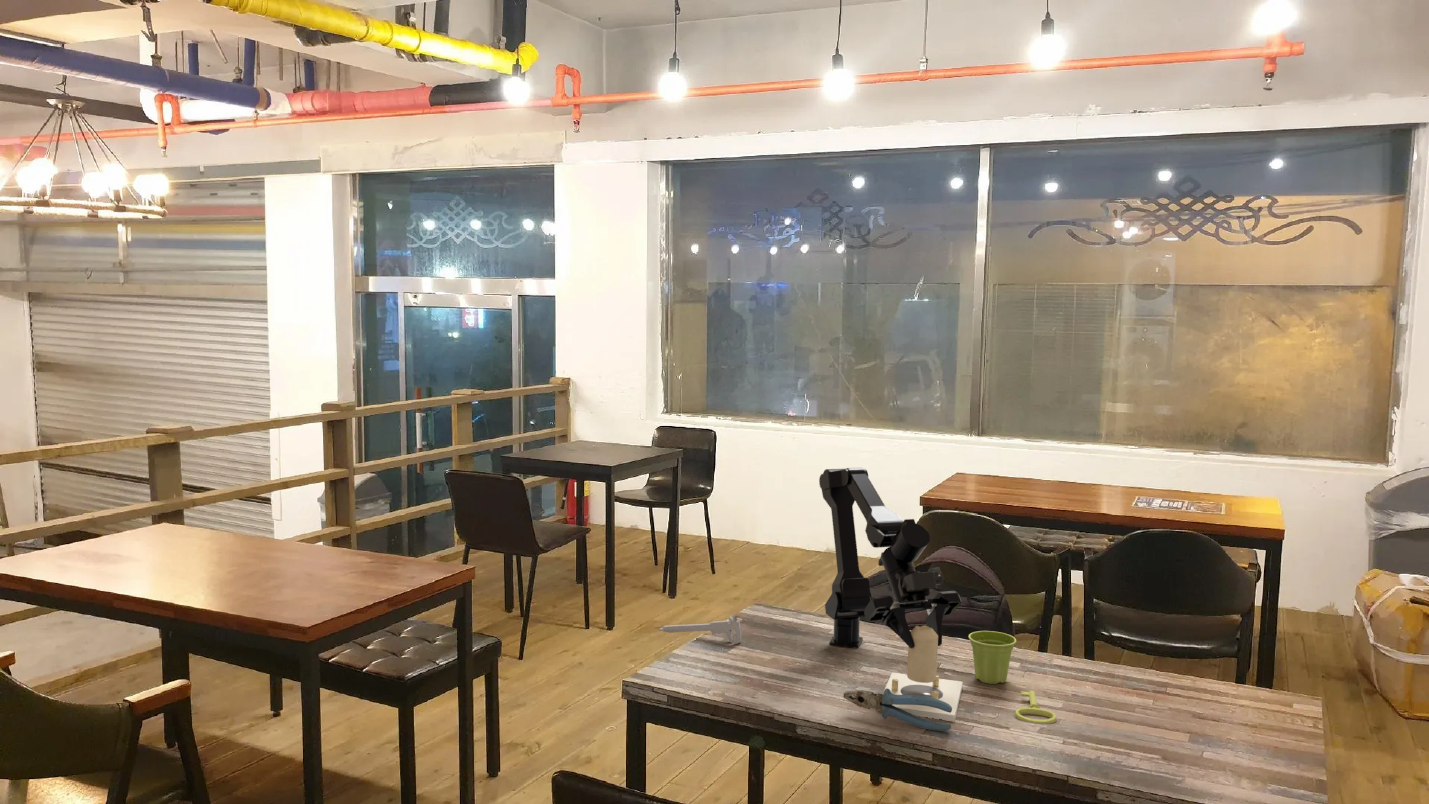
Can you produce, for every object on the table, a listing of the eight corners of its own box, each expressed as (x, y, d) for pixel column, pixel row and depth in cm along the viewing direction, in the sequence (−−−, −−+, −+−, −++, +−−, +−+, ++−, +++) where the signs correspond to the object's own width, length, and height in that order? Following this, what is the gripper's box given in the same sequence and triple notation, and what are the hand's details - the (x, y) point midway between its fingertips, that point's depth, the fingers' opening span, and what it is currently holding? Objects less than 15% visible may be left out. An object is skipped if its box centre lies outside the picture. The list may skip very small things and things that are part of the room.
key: (1033, 699, 197) (1033, 689, 197) (1060, 726, 185) (1060, 714, 185) (997, 700, 197) (997, 689, 196) (1022, 726, 184) (1022, 715, 184)
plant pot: (963, 683, 204) (965, 641, 204) (970, 668, 213) (972, 628, 212) (1011, 690, 201) (1013, 647, 200) (1016, 675, 210) (1018, 634, 209)
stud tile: (891, 678, 206) (892, 663, 206) (962, 687, 202) (963, 671, 202) (877, 710, 189) (878, 694, 189) (954, 721, 185) (955, 704, 185)
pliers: (841, 713, 188) (842, 682, 187) (845, 709, 190) (846, 678, 189) (949, 736, 179) (950, 703, 178) (952, 731, 181) (953, 699, 180)
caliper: (741, 643, 227) (742, 616, 226) (739, 645, 226) (740, 617, 225) (660, 630, 235) (660, 604, 235) (657, 631, 234) (658, 605, 234)
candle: (903, 680, 194) (906, 629, 193) (910, 670, 199) (913, 621, 198) (932, 685, 192) (935, 633, 191) (938, 675, 197) (941, 625, 196)
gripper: (872, 556, 194) (897, 630, 185) (959, 550, 200) (987, 622, 190) (853, 585, 202) (876, 657, 193) (937, 579, 208) (963, 649, 199)
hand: (926, 646), depth 193 cm, fingers closed on candle, 5 cm apart
